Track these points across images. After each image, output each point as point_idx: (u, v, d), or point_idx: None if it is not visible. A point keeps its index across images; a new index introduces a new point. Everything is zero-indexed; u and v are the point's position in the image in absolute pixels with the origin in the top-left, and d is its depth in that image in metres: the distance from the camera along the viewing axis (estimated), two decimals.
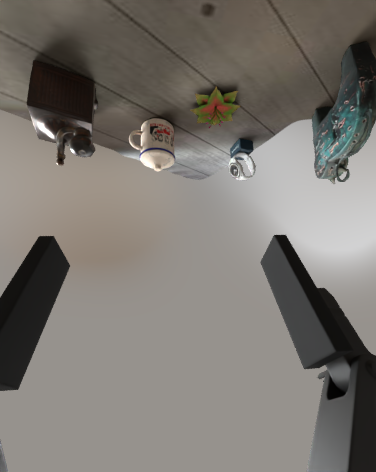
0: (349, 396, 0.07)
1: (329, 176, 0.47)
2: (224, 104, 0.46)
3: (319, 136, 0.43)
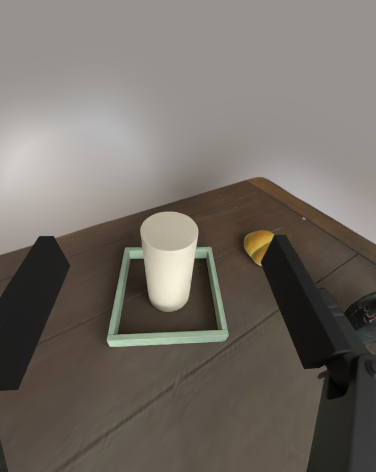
0: (349, 396, 0.07)
1: None
2: None
3: None
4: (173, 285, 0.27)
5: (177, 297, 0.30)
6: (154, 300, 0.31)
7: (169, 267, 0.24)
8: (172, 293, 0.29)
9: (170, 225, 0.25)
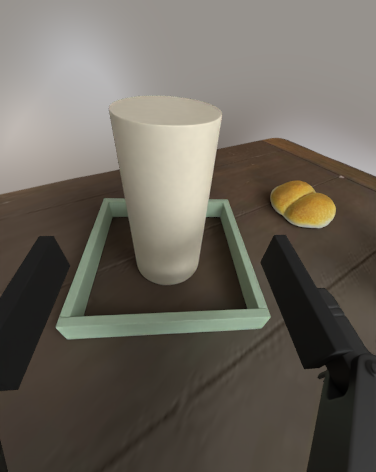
0: (349, 396, 0.07)
1: None
2: None
3: None
4: (174, 228, 0.15)
5: (182, 256, 0.18)
6: (145, 264, 0.19)
7: (167, 178, 0.12)
8: (173, 247, 0.17)
9: (168, 105, 0.13)
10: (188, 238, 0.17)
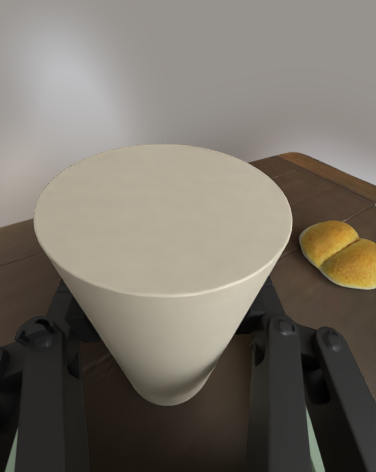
0: (266, 359, 0.08)
1: None
2: None
3: None
4: (182, 379, 0.09)
5: (193, 388, 0.11)
6: (134, 387, 0.13)
7: (170, 350, 0.06)
8: (180, 389, 0.10)
9: (173, 177, 0.06)
10: (204, 375, 0.10)
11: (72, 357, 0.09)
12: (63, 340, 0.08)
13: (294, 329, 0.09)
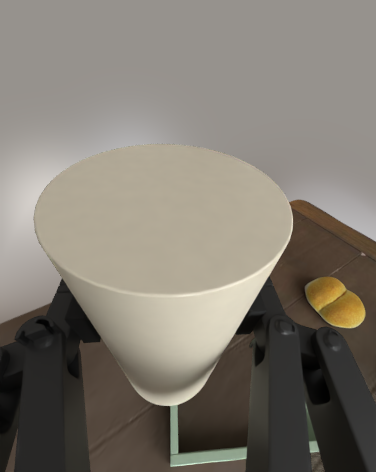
0: (266, 359, 0.08)
1: None
2: None
3: None
4: (183, 380, 0.09)
5: (193, 388, 0.11)
6: (134, 387, 0.13)
7: (170, 350, 0.06)
8: (180, 389, 0.10)
9: (173, 177, 0.06)
10: (205, 375, 0.10)
11: (72, 357, 0.09)
12: (63, 340, 0.08)
13: (294, 329, 0.09)
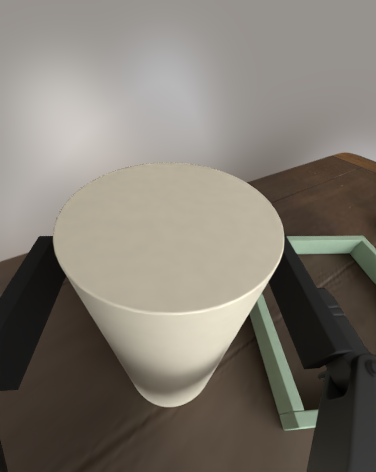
0: (349, 396, 0.07)
1: None
2: None
3: None
4: (184, 383, 0.09)
5: (194, 390, 0.12)
6: (138, 389, 0.13)
7: (174, 357, 0.06)
8: (182, 392, 0.11)
9: (176, 198, 0.07)
10: (205, 378, 0.11)
11: None
12: None
13: None
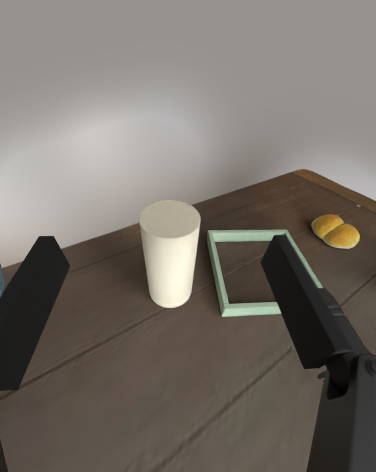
0: (349, 396, 0.07)
1: None
2: None
3: None
4: (174, 278, 0.26)
5: (179, 291, 0.28)
6: (155, 295, 0.30)
7: (170, 257, 0.23)
8: (174, 287, 0.27)
9: (170, 213, 0.24)
10: (183, 282, 0.27)
11: None
12: None
13: None
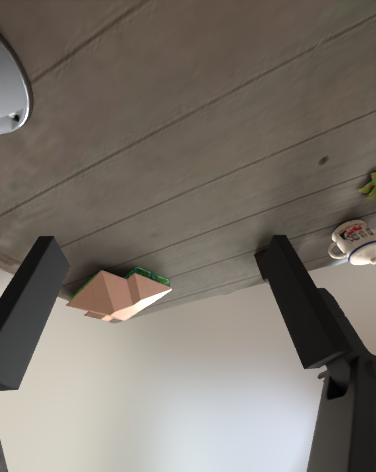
0: (349, 396, 0.07)
1: None
2: None
3: None
4: None
5: None
6: None
7: None
8: None
9: None
10: None
11: None
12: None
13: None
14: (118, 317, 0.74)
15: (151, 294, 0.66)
